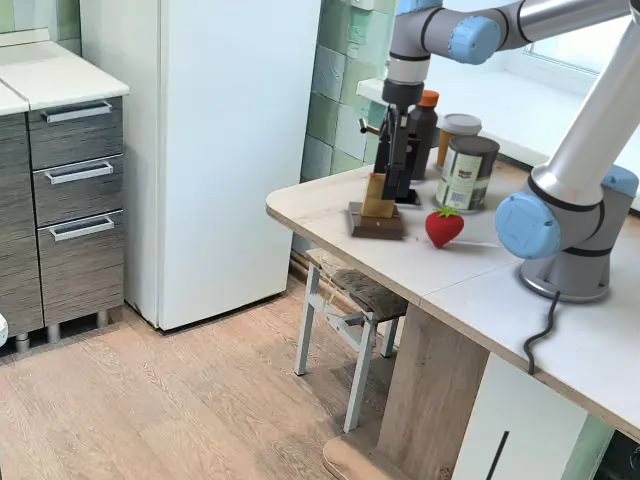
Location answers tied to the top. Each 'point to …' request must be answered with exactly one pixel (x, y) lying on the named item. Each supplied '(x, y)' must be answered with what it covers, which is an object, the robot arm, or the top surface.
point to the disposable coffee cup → (455, 131)
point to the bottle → (424, 129)
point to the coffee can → (467, 171)
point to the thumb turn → (376, 198)
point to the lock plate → (375, 224)
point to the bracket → (408, 173)
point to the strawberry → (443, 226)
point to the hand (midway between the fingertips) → (383, 186)
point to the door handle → (367, 128)
